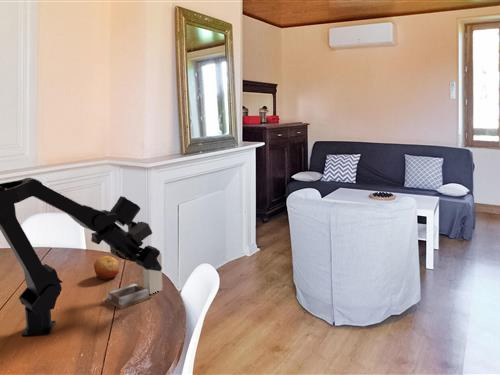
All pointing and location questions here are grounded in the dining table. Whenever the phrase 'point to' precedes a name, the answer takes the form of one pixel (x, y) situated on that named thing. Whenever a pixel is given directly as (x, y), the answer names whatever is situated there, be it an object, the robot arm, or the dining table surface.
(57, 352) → the dining table surface
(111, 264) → the fruit
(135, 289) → the track
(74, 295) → the dining table surface
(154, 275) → the tall cream box
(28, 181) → the robot arm
